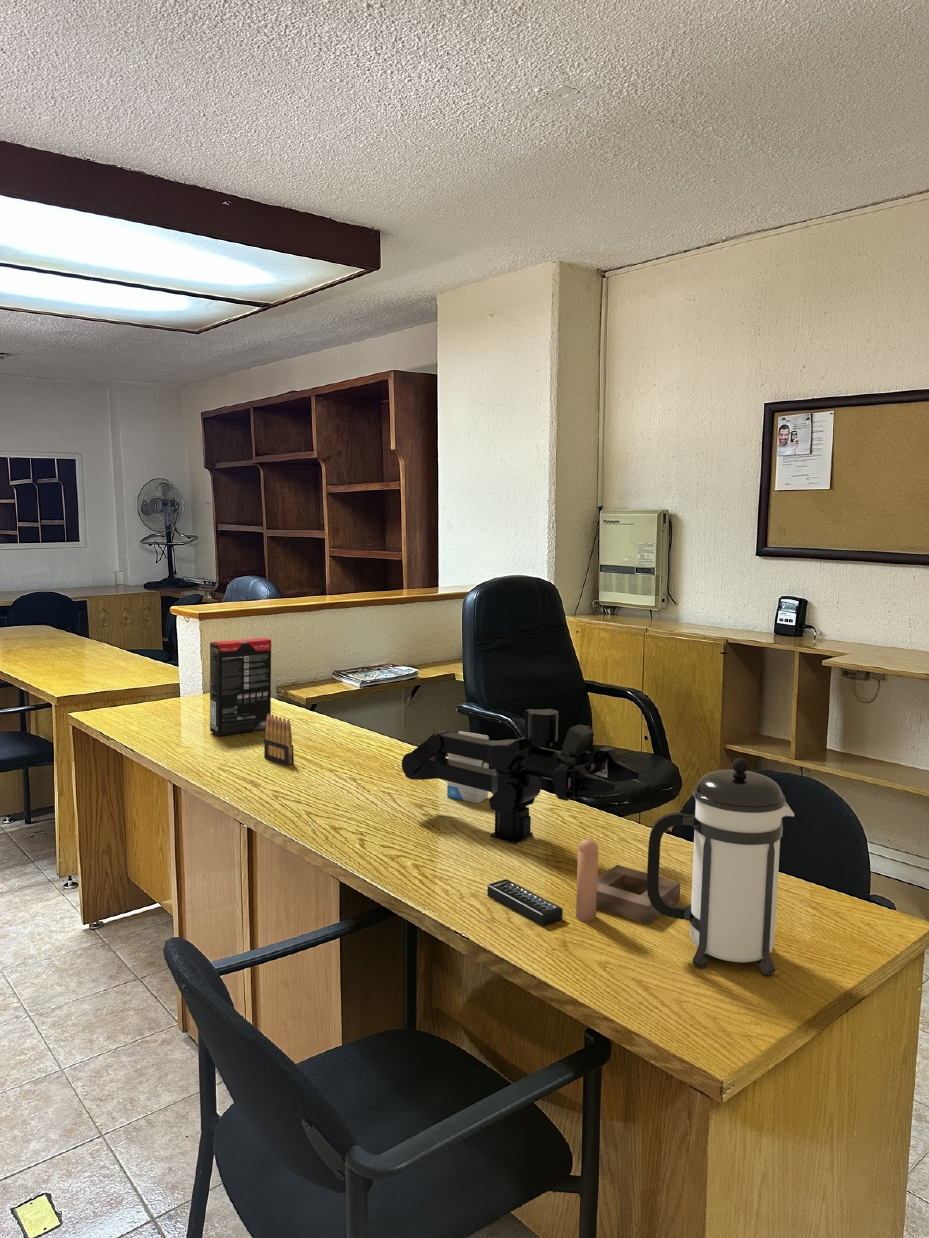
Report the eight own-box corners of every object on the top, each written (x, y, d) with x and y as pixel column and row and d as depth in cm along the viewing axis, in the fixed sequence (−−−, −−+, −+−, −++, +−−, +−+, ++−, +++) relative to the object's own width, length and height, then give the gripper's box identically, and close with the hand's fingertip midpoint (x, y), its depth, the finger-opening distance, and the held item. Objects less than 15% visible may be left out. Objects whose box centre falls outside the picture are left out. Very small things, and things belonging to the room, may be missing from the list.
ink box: (446, 797, 204) (446, 734, 202) (456, 791, 208) (457, 730, 206) (478, 803, 200) (479, 739, 198) (489, 797, 204) (490, 735, 202)
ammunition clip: (264, 757, 235) (263, 713, 233) (269, 756, 236) (269, 712, 235) (288, 766, 227) (287, 720, 226) (294, 764, 229) (293, 718, 227)
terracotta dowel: (572, 917, 144) (574, 840, 142) (582, 910, 146) (584, 834, 145) (589, 923, 142) (592, 844, 140) (599, 916, 144) (602, 839, 143)
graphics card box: (262, 724, 271) (261, 636, 268) (273, 729, 266) (272, 638, 262) (209, 733, 260) (207, 640, 257) (219, 737, 255) (217, 643, 251)
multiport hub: (543, 929, 140) (543, 915, 140) (486, 897, 152) (486, 884, 152) (563, 922, 143) (564, 908, 143) (506, 891, 154) (506, 878, 154)
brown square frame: (582, 903, 149) (582, 886, 149) (616, 880, 158) (617, 864, 158) (648, 924, 142) (648, 906, 141) (679, 899, 151) (680, 882, 151)
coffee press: (725, 920, 143) (734, 739, 140) (806, 965, 129) (818, 764, 126) (641, 944, 135) (648, 751, 131) (717, 994, 121) (727, 780, 118)
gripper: (528, 733, 163) (603, 748, 154) (580, 716, 178) (652, 728, 168) (527, 792, 165) (601, 810, 155) (579, 770, 179) (649, 785, 170)
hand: (627, 781), depth 162 cm, fingers open, 9 cm apart
